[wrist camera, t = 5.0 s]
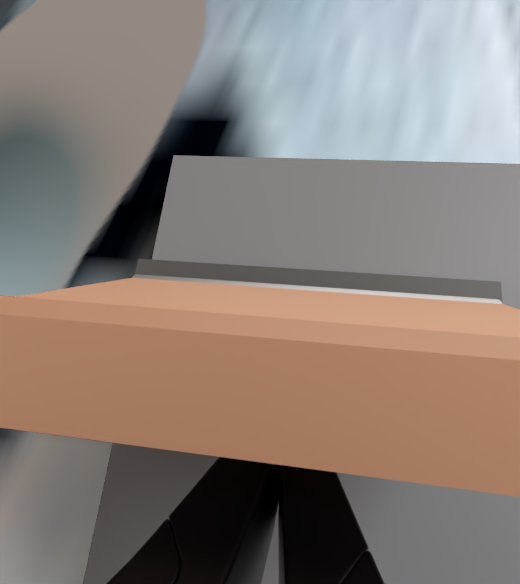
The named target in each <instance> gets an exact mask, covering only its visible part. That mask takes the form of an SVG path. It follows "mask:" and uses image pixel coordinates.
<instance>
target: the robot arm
mask: <svg viewBox="0 0 520 584" xmlns="http://www.w3.org/2000/svg"><path fill="white" fill-rule="evenodd" d="M278 504H279V510H278ZM277 511H278V563H279V584H385V583H384V581H383V579H382V576H381V574H380V572H379V570H378V567H377V565H376V563H375V560H374V558H373V556H372V553H371V552H370V551H368V549H369V547H368V545H367V542H366V540H365V538H364V535H363V533H362V531H361V528H360V526H359V524H358V521H357V519H356V517H355V514H354V512H353V510H352V507H351V505H350V503H349V500H348V498H347V496H346V493H345V491H344V489H343V486H342V484H341V482H340V479H339V477H338V475H337V472H330V471H322V470H315V469H307V468H300V467H292V466H285V465H277V464H270V463H262V462H255V461H247V460H240V459H232V458H225V457H219V458H218V459H217V460H216V461H215V462H214V463H213V465H212V466H211V467H210V468H209V469H208V470H207V472H206V473H205V474H204V475H203V476H202V478H201V479H200V480H199V481H198V482H197V483H196V485H195V486H194V487H193V488H192V489H191V490H190V492H189V493H188V494H187V495H186V496H185V497H184V499H183V500H182V501H181V502H180V503H179V504H178V506H177V507H176V508H175V509H174V510H173V511H172V513H171V514H170V515H169V520H168V519H166V520H164V522H163V523H162V524H161V525H160V526H159V528H158V529H157V530H156V531H155V532H154V533H153V535H152V536H151V537H150V538H149V539H148V540H147V541H146V542H145V544H144V545H143V546H142V547H141V548H140V549H139V550H138V551H137V552H136V553H135V555H134V556H133V557H132V558H131V559H130V560H129V561H128V562H127V563H126V564H125V565H124V566H123V567H122V568H121V569H120V570H119V571H118V572H117V573H116V574H115V575H114V576H113V577H112V578H111V579H110V580H109V581H108V582H107V583H106V584H261V582H262V577H263V573H264V569H265V564H266V560H267V556H268V551H269V547H270V543H271V538H272V534H273V530H274V525H275V521H276V516H277Z"/></svg>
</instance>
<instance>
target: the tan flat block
mask: <svg viewBox="0 0 520 584" xmlns="http://www.w3.org/2000/svg"><path fill="white" fill-rule="evenodd" d="M0 428H7V429H15V430H22V431H30V432H37V433H45V434H52V435H60V436H67V437H75V438H82V439H90V440H97V441H105V442H112V443H120V444H127V445H135V446H142V447H150V448H157V449H165V450H172V451H180V452H187V453H195V454H202V455H210V456H217V457H225V458H232V459H240V460H247V461H255V462H262V463H270V464H277V465H285V466H292V467H300V468H307V469H315V470H322V471H330V472H337V473H345V474H352V475H360V476H367V477H375V478H382V479H390V480H397V481H405V482H412V483H420V484H427V485H435V486H442V487H450V488H457V489H465V490H472V491H480V492H487V493H495V494H502V495H510V496H517V497H520V309H517V308H514V307H510V306H507V305H504V304H502V302H501V301H500V300H499V299H486V298H472V297H458V296H443V295H429V294H414V293H400V292H386V291H371V290H357V289H342V288H328V287H314V286H299V285H285V284H270V283H256V282H241V281H227V280H213V279H198V278H184V277H169V276H155V275H141V274H135V275H134V276H133V277H132V278H127V279H121V280H115V281H109V282H103V283H97V284H91V285H85V286H78V287H72V288H66V289H60V290H54V291H48V292H42V293H36V294H29V295H24V296H17V297H15V296H2V295H0Z"/></svg>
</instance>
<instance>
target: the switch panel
mask: <svg viewBox="0 0 520 584" xmlns="http://www.w3.org/2000/svg"><path fill="white" fill-rule="evenodd" d="M135 274H141V275H155V276H169V277H184V278H198V279H213V280H227V281H241V282H256V283H270V284H285V285H299V286H314V287H328V288H342V289H357V290H371V291H386V292H400V293H414V294H429V295H443V296H458V297H472V298H486V299H499V300H500V301H501V302H502V304H504V305H507V306H510V307H514V308H517V309H520V164H498V163H457V162H417V161H377V160H337V159H297V158H257V157H216V156H176V155H174V157H173V161H172V166H171V171H170V176H169V180H168V185H167V190H166V194H165V199H164V204H163V209H162V213H161V218H160V223H159V228H158V232H157V237H156V242H155V246H154V251H153V256H152V260H151V259H138V262H137V266H136V271H135ZM218 458H219V457H217V456H210V455H202V454H195V453H187V452H180V451H172V450H165V449H157V448H150V447H142V446H135V445H127V444H120V443H113V445H112V449H111V454H110V459H109V463H108V468H107V473H106V478H105V482H104V487H103V492H102V496H101V501H100V506H99V511H98V515H97V520H96V525H95V530H94V534H93V539H92V544H91V548H90V553H89V558H88V563H87V567H86V572H85V577H84V581H83V584H106V583H107V582H108V581H109V580H110V579H111V578H112V577H113V576H114V575H115V574H116V573H117V572H118V571H119V570H120V569H121V568H122V567H123V566H124V565H125V564H126V563H127V562H128V561H129V560H130V559H131V558H132V557H133V556H134V555H135V553H136V552H137V551H138V550H139V549H140V548H141V547H142V546H143V545H144V544H145V542H146V541H147V540H148V539H149V538H150V537H151V536H152V535H153V533H154V532H155V531H156V530H157V529H158V528H159V526H160V525H161V524H162V523H163V522H164V520H166V519H168V520H169V515H170V514H171V513H172V511H173V510H174V509H175V508H176V507H177V506H178V504H179V503H180V502H181V501H182V500H183V499H184V497H185V496H186V495H187V494H188V493H189V492H190V490H191V489H192V488H193V487H194V486H195V485H196V483H197V482H198V481H199V480H200V479H201V478H202V476H203V475H204V474H205V473H206V472H207V470H208V469H209V468H210V467H211V466H212V465H213V463H214V462H215V461H216V460H217V459H218ZM337 475H338V477H339V479H340V482H341V484H342V486H343V489H344V491H345V493H346V496H347V498H348V500H349V503H350V505H351V507H352V510H353V512H354V514H355V517H356V519H357V521H358V524H359V526H360V528H361V531H362V533H363V535H364V538H365V540H366V542H367V545H368V547H369V549H368V551H370V552H371V553H372V556H373V558H374V560H375V563H376V565H377V567H378V570H379V572H380V574H381V576H382V579H383V581H384V583H385V584H520V497H517V496H510V495H502V494H495V493H487V492H480V491H472V490H465V489H457V488H450V487H442V486H435V485H427V484H420V483H412V482H405V481H397V480H390V479H382V478H375V477H367V476H360V475H352V474H345V473H337ZM278 510H279V504H278ZM261 584H279V563H278V511H277V516H276V521H275V525H274V530H273V534H272V538H271V543H270V547H269V551H268V556H267V560H266V564H265V569H264V573H263V577H262V582H261Z"/></svg>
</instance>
